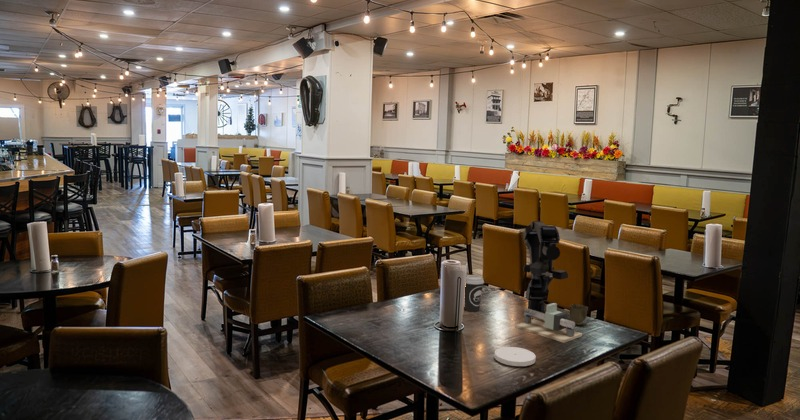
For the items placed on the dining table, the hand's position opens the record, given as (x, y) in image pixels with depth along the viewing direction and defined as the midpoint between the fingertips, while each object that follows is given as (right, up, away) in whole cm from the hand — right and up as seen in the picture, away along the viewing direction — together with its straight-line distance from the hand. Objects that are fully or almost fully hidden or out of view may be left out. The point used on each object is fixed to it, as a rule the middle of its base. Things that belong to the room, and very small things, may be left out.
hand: (544, 291), depth 243 cm
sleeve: (0, -12, -14) cm, 19 cm away
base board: (-1, -15, -12) cm, 19 cm away
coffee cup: (-29, -11, +15) cm, 34 cm away
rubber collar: (+2, -13, -16) cm, 21 cm away
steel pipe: (-1, -15, -12) cm, 19 cm away
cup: (+14, -14, -2) cm, 20 cm away
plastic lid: (-21, -18, -44) cm, 52 cm away
